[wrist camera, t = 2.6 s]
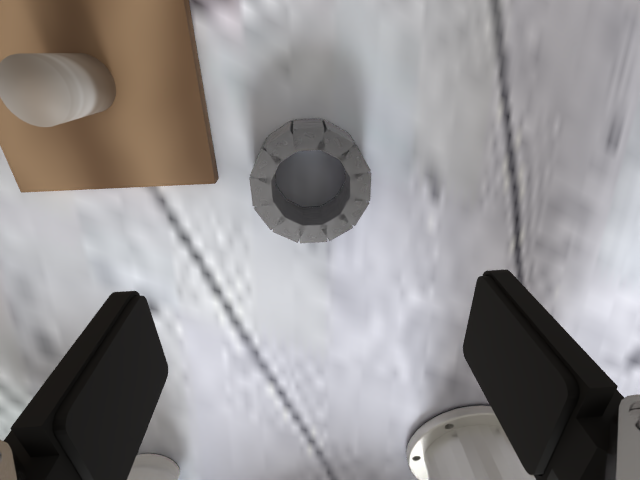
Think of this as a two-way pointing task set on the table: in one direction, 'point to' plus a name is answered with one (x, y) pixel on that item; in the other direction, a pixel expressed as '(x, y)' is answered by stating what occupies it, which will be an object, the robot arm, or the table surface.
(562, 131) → the table surface
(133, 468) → the teacup
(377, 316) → the table surface
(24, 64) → the brown base with peg
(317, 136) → the ring
